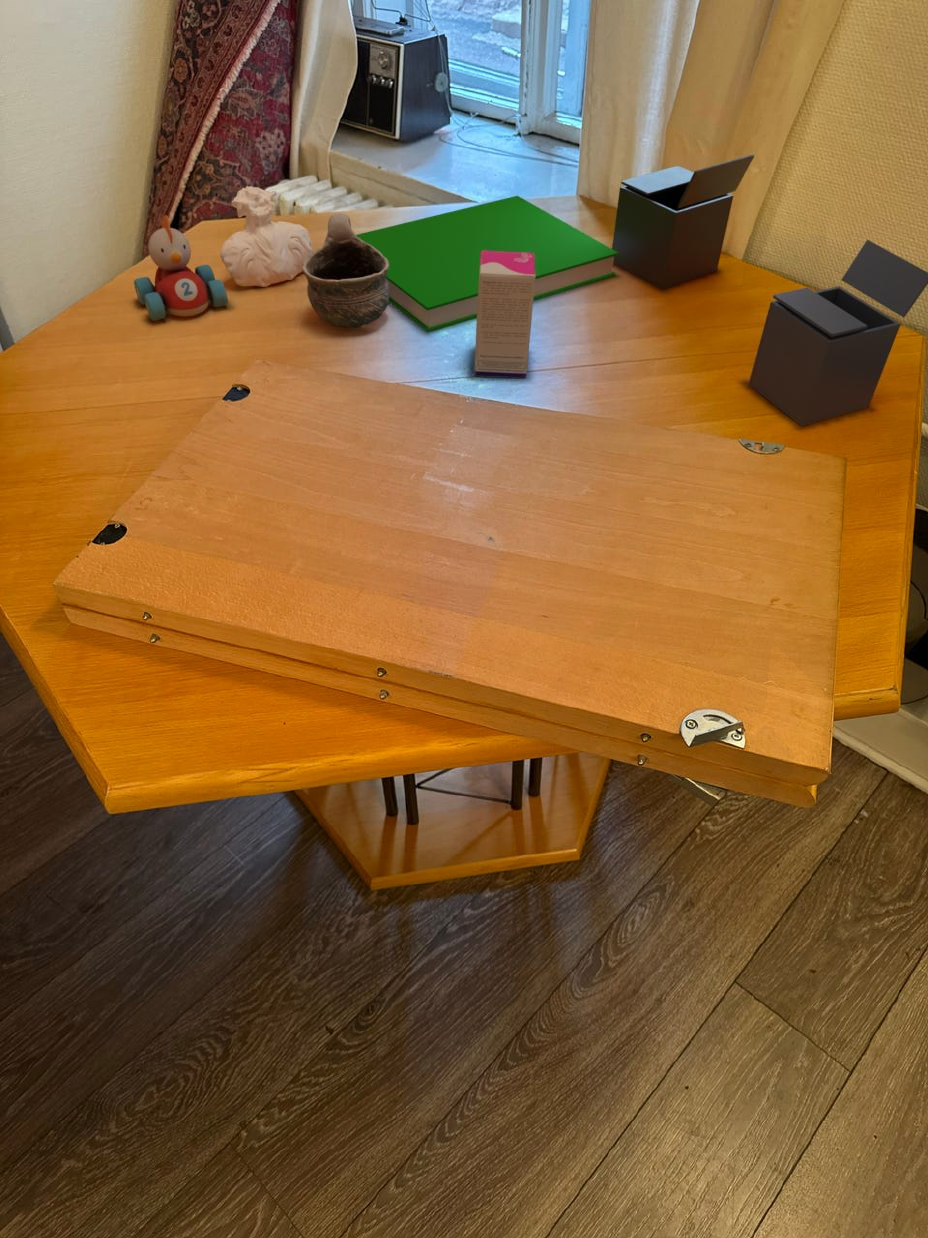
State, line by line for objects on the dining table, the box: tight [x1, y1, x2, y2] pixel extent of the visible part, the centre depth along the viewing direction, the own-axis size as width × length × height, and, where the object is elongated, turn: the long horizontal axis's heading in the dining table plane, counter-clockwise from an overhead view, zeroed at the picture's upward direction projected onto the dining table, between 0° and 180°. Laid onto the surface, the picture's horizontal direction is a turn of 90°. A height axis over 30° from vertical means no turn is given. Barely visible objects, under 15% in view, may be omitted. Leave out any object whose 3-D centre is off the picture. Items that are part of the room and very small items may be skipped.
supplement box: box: [473, 250, 535, 379], centre depth 94 cm, size 6×6×12 cm
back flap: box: [677, 154, 755, 208], centre depth 104 cm, size 5×10×1 cm
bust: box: [219, 185, 313, 288], centre depth 110 cm, size 12×8×11 cm
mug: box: [302, 213, 389, 329], centre depth 102 cm, size 10×12×10 cm
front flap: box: [840, 239, 928, 318], centre depth 88 cm, size 4×9×1 cm
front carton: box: [747, 285, 902, 427], centre depth 91 cm, size 9×9×10 cm
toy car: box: [133, 215, 229, 322], centre depth 104 cm, size 9×9×10 cm
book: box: [355, 195, 618, 333], centre depth 114 cm, size 22×28×3 cm
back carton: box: [611, 165, 734, 291], centre depth 113 cm, size 10×10×10 cm
